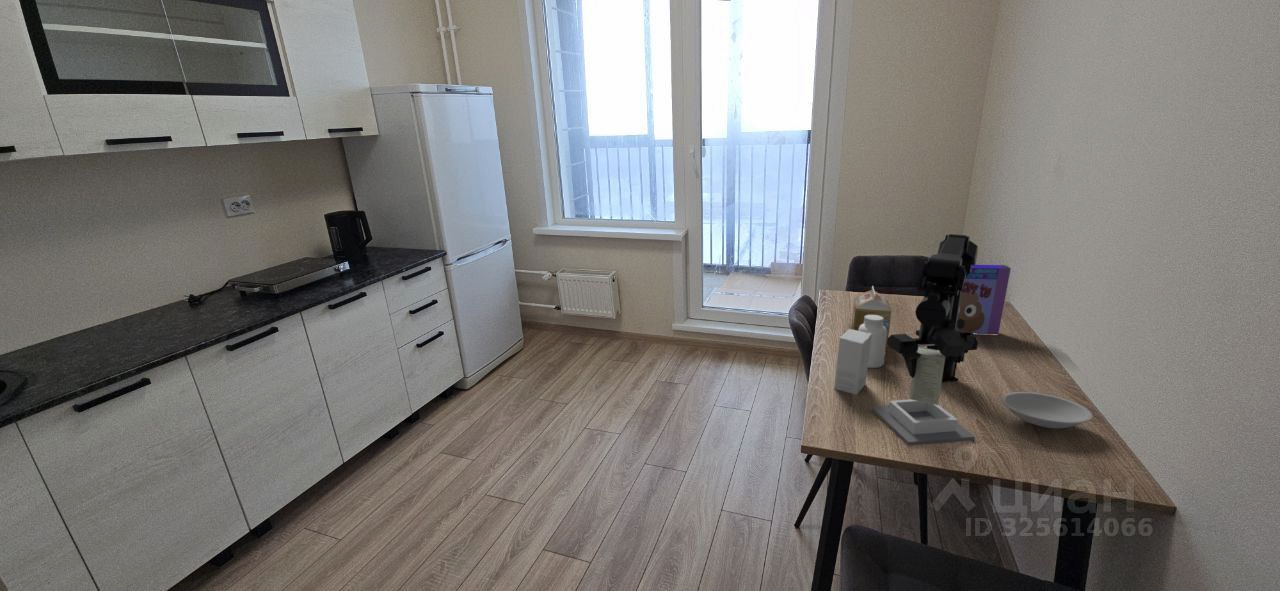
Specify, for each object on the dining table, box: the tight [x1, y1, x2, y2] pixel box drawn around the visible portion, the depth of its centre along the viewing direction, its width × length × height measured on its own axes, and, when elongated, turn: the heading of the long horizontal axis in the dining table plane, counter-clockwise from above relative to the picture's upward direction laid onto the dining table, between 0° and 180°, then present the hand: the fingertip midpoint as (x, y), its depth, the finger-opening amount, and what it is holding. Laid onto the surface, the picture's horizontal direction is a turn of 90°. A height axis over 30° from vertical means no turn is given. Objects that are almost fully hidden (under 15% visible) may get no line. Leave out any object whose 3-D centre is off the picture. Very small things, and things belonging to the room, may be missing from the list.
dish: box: [1000, 391, 1094, 429], centre depth 124 cm, size 18×14×5 cm
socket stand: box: [871, 399, 976, 447], centre depth 126 cm, size 16×16×4 cm
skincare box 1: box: [833, 328, 872, 396], centre depth 144 cm, size 8×7×16 cm
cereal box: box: [957, 264, 1011, 335], centre depth 179 cm, size 17×5×24 cm, turn 80°
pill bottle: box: [858, 315, 887, 369], centre depth 158 cm, size 8×8×15 cm
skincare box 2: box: [908, 347, 945, 405], centre depth 123 cm, size 6×4×12 cm
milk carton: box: [850, 285, 892, 353], centre depth 171 cm, size 11×11×19 cm
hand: (927, 375), depth 123 cm, fingers closed on skincare box 2, 7 cm apart
